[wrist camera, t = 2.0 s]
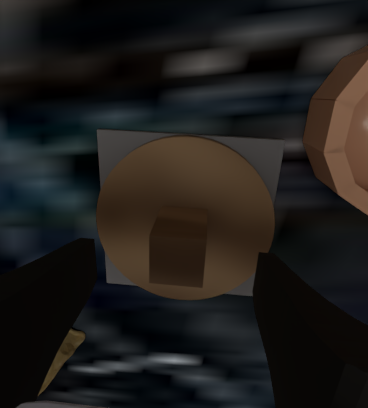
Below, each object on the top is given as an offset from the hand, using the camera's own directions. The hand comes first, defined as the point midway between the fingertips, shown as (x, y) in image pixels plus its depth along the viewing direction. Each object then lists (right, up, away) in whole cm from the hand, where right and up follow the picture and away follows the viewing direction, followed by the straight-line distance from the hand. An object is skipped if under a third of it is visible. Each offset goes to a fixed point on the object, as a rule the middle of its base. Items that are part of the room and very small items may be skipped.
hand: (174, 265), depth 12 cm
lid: (0, +2, +5) cm, 5 cm away
